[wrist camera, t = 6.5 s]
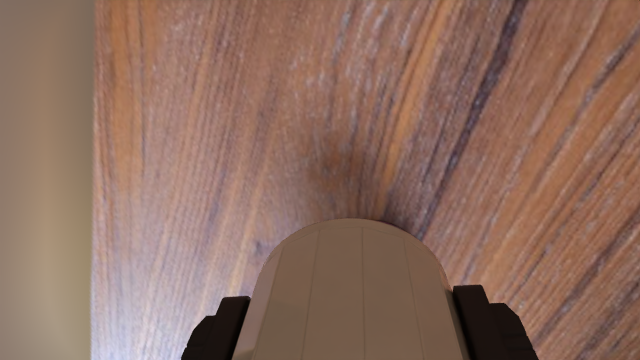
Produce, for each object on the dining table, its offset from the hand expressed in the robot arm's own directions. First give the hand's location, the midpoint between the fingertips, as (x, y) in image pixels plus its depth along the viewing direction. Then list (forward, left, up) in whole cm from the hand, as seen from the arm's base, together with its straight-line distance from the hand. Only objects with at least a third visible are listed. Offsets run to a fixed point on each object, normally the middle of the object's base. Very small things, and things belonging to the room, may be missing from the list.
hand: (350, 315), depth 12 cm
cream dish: (0, 0, -1) cm, 1 cm away
